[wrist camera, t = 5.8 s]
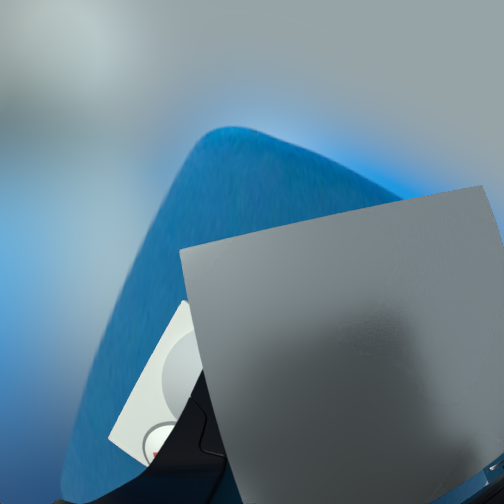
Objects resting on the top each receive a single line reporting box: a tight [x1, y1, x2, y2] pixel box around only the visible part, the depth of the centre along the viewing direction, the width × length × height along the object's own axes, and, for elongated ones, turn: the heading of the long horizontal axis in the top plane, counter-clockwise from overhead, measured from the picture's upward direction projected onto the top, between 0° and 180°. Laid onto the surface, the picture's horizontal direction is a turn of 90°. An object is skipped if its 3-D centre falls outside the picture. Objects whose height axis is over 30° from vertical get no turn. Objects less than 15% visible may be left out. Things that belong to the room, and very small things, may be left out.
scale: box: [108, 300, 203, 467], centre depth 19 cm, size 12×16×2 cm
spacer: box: [180, 186, 504, 504], centre depth 9 cm, size 5×5×13 cm
